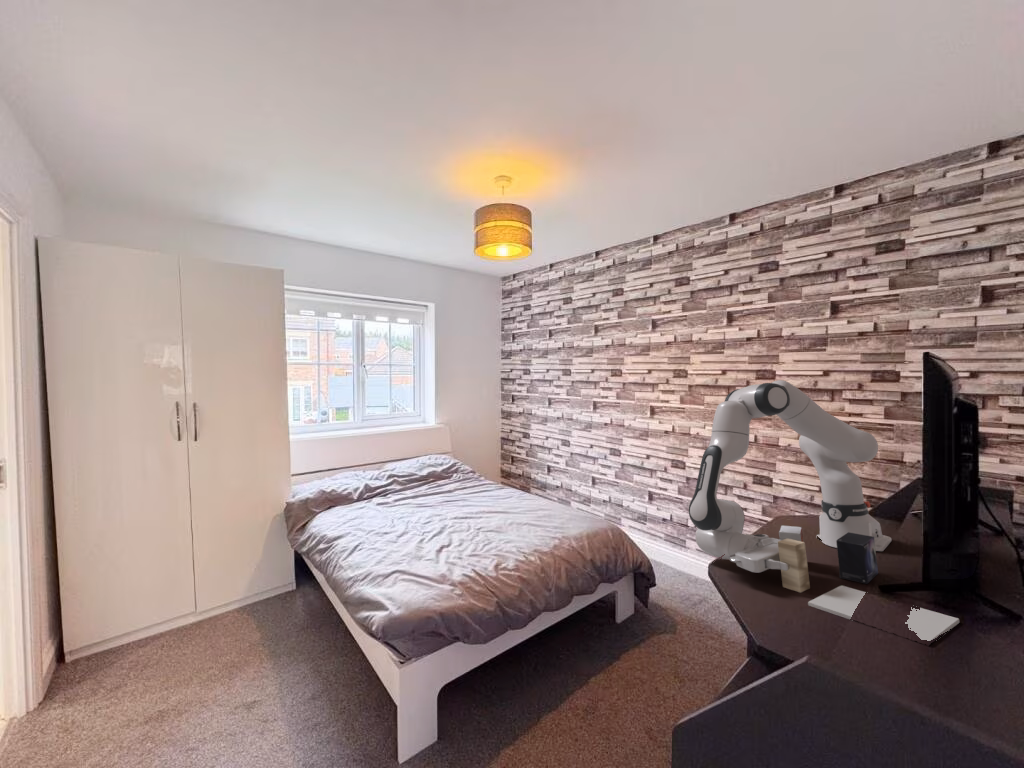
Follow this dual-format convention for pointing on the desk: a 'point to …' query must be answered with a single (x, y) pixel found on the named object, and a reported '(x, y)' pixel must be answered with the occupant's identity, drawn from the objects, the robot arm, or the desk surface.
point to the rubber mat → (919, 621)
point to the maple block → (794, 565)
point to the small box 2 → (857, 557)
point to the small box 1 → (791, 533)
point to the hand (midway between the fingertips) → (797, 563)
